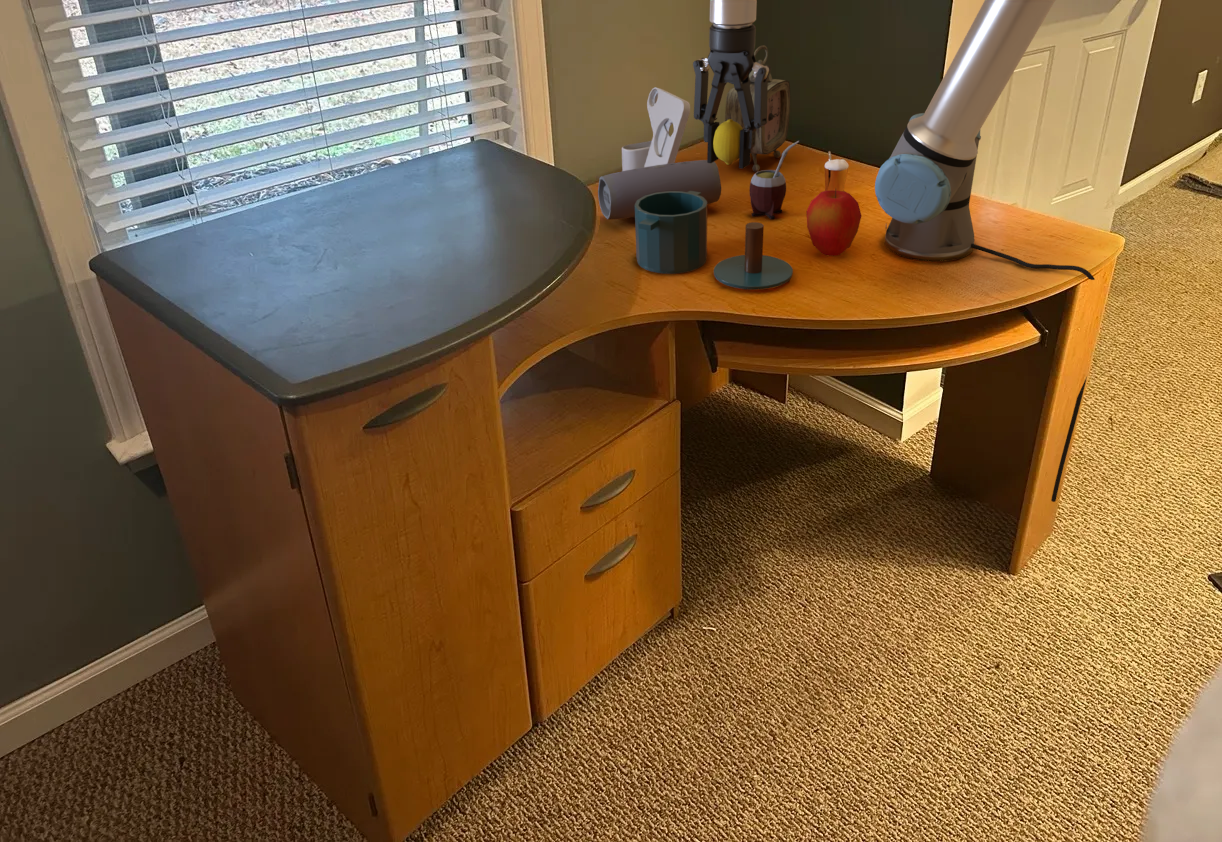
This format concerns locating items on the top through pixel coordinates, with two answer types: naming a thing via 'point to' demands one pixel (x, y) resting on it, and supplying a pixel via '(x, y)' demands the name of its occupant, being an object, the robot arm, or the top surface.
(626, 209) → the bluetooth speaker
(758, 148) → the tabletop clock
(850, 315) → the top surface
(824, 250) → the apple
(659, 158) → the phone holder
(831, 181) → the milkshake
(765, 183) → the mate gourd
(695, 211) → the pot
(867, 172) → the top surface
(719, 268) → the lid
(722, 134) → the lemon
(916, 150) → the robot arm
